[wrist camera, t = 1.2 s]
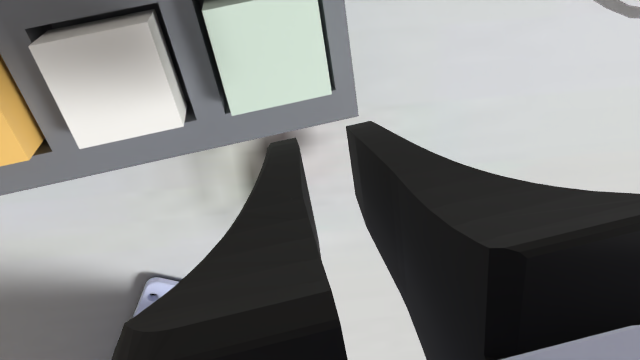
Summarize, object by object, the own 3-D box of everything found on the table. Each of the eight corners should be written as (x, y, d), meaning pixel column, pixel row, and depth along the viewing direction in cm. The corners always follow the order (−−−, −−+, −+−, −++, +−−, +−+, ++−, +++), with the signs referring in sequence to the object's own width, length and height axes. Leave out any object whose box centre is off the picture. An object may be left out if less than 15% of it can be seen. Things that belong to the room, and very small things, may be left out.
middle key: (154, 8, 15) (147, 22, 14) (187, 105, 17) (183, 126, 16) (47, 30, 15) (27, 46, 13) (92, 125, 17) (79, 149, 15)
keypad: (319, -83, 16) (334, -78, 14) (343, 90, 20) (358, 116, 18) (-144, 7, 15) (-205, 27, 13) (-34, 172, 19) (-67, 210, 17)
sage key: (306, -22, 16) (315, -13, 14) (322, 76, 17) (331, 94, 16) (204, -2, 15) (201, 10, 14) (230, 95, 17) (231, 116, 16)
